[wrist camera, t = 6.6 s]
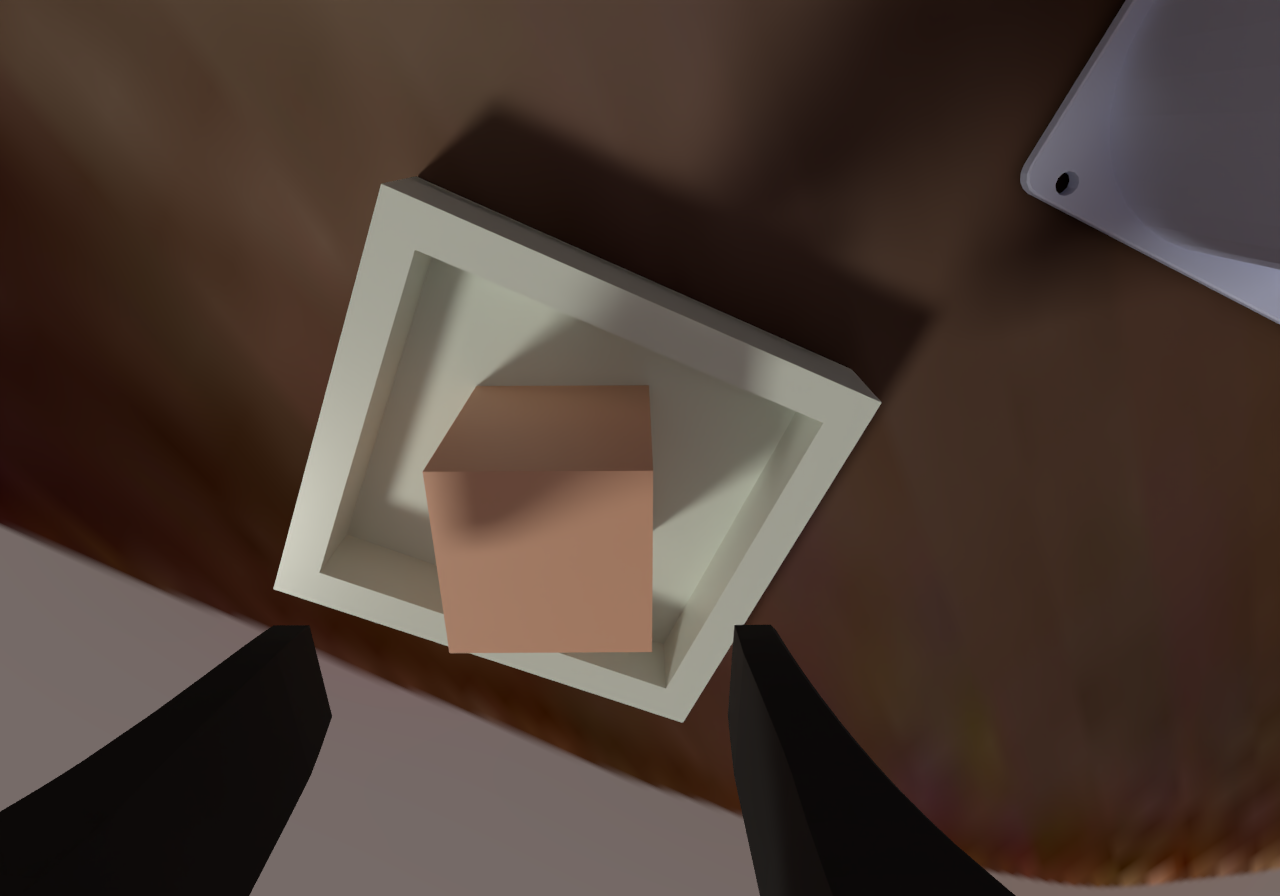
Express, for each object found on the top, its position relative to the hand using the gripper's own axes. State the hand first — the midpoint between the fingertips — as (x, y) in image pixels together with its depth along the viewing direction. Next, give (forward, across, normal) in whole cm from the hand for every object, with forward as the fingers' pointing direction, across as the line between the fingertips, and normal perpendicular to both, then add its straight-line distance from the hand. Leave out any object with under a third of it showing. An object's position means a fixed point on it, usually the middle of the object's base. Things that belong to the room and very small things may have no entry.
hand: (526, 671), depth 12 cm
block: (+8, 0, 0) cm, 8 cm away
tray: (+8, 0, 0) cm, 9 cm away
